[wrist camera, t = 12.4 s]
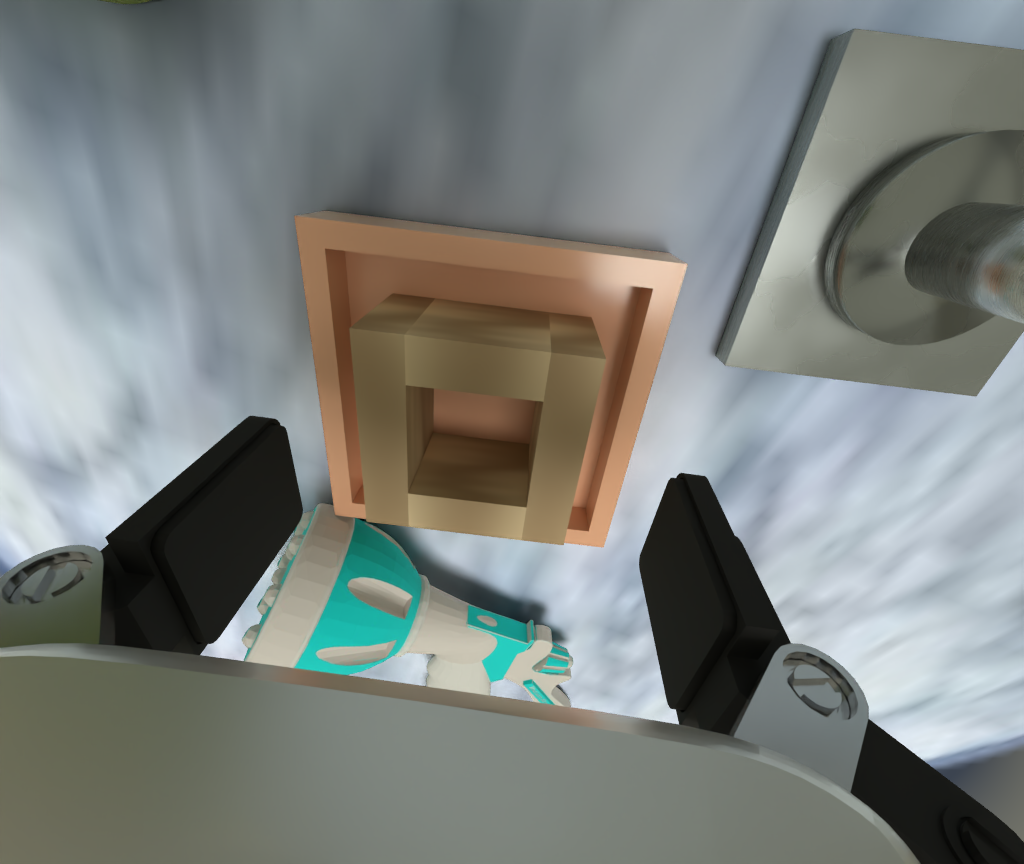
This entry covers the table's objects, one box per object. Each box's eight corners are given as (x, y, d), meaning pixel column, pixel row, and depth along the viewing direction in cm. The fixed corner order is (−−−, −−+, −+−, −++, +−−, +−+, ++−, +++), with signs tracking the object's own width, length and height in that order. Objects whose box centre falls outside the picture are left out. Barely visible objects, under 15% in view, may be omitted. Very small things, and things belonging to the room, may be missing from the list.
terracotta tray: (669, 252, 15) (687, 264, 13) (597, 514, 21) (603, 547, 19) (325, 210, 15) (294, 215, 13) (353, 485, 20) (334, 515, 19)
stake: (1162, 80, 12) (1727, -4, 6) (953, 384, 16) (1166, 493, 11) (831, 39, 12) (1096, -84, 6) (715, 355, 16) (806, 450, 11)
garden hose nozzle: (569, 793, 28) (684, 638, 16) (286, 791, 26) (171, 615, 14) (557, 676, 34) (635, 495, 22) (323, 668, 32) (265, 466, 20)
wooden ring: (591, 317, 15) (606, 359, 12) (559, 477, 19) (563, 544, 15) (392, 293, 15) (349, 328, 12) (398, 457, 19) (366, 521, 15)
